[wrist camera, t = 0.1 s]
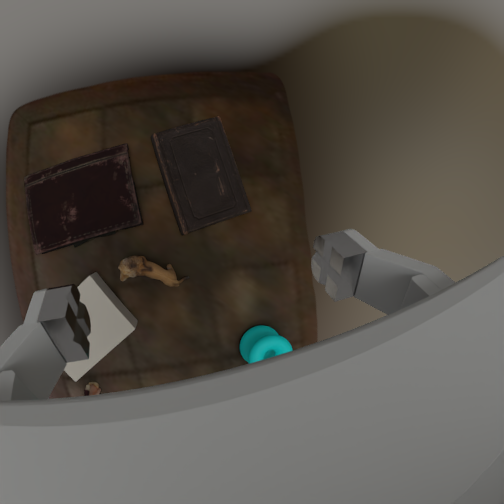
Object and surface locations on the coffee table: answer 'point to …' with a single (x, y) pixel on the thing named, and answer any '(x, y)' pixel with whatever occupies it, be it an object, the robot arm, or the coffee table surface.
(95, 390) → the grandmother figurine
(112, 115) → the coffee table surface
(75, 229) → the diary
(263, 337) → the donuts
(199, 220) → the hardcover book
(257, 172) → the coffee table surface
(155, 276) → the lion figurine
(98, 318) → the pedestal
